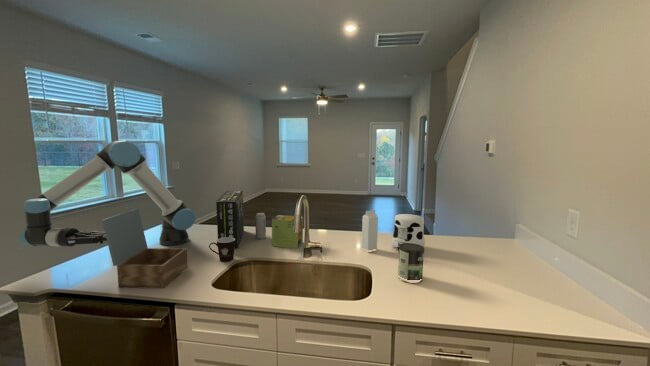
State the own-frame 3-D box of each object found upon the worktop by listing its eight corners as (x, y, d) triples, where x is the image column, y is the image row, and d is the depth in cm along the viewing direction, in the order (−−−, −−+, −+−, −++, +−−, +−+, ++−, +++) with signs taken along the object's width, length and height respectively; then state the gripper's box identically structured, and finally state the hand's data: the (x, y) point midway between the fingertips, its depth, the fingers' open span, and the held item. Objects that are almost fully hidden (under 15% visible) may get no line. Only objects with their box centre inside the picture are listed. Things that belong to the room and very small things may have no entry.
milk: (361, 249, 164) (362, 210, 161) (370, 248, 167) (371, 209, 164) (367, 253, 159) (368, 212, 156) (377, 251, 161) (378, 211, 159)
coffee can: (425, 276, 131) (427, 245, 129) (418, 286, 122) (420, 252, 120) (401, 271, 136) (403, 241, 134) (394, 279, 127) (395, 247, 126)
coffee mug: (239, 257, 150) (238, 238, 148) (228, 264, 142) (227, 243, 140) (219, 254, 153) (219, 235, 152) (208, 260, 145) (207, 240, 144)
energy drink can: (257, 236, 185) (256, 212, 183) (266, 236, 185) (266, 212, 183) (254, 239, 179) (254, 214, 177) (264, 239, 179) (264, 215, 177)
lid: (116, 265, 116) (113, 266, 116) (147, 247, 136) (144, 248, 136) (104, 219, 114) (101, 220, 114) (138, 208, 134) (135, 208, 134)
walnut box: (118, 287, 117) (116, 265, 116) (148, 266, 137) (147, 247, 136) (164, 288, 117) (163, 266, 116) (187, 267, 137) (187, 248, 136)
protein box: (298, 248, 165) (298, 220, 163) (271, 246, 168) (271, 218, 166) (303, 242, 175) (303, 216, 173) (278, 240, 178) (278, 214, 176)
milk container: (419, 244, 175) (420, 213, 172) (428, 254, 157) (430, 221, 155) (389, 243, 175) (390, 213, 173) (395, 254, 158) (396, 220, 156)
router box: (226, 231, 195) (225, 190, 191) (244, 230, 197) (243, 190, 193) (216, 250, 160) (215, 200, 157) (238, 249, 162) (237, 200, 159)
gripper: (77, 240, 131) (131, 241, 131) (50, 251, 118) (109, 252, 118) (76, 224, 130) (130, 224, 130) (48, 232, 117) (108, 233, 117)
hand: (120, 237), depth 124 cm, fingers closed
